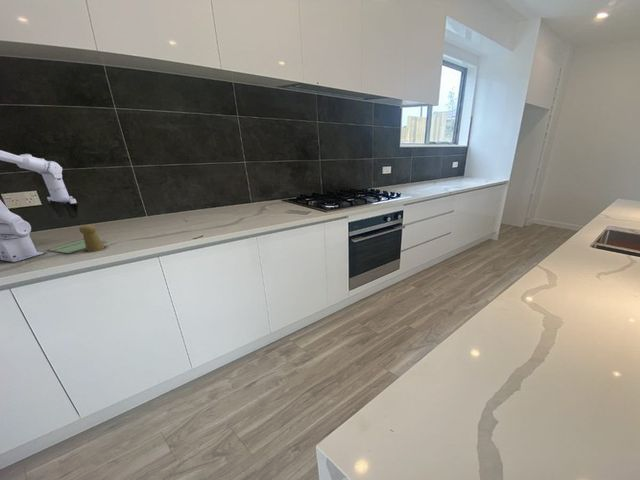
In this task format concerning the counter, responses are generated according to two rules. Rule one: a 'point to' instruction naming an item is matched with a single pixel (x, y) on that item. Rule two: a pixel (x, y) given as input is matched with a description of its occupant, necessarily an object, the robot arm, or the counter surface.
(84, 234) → the cork
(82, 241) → the napkin
